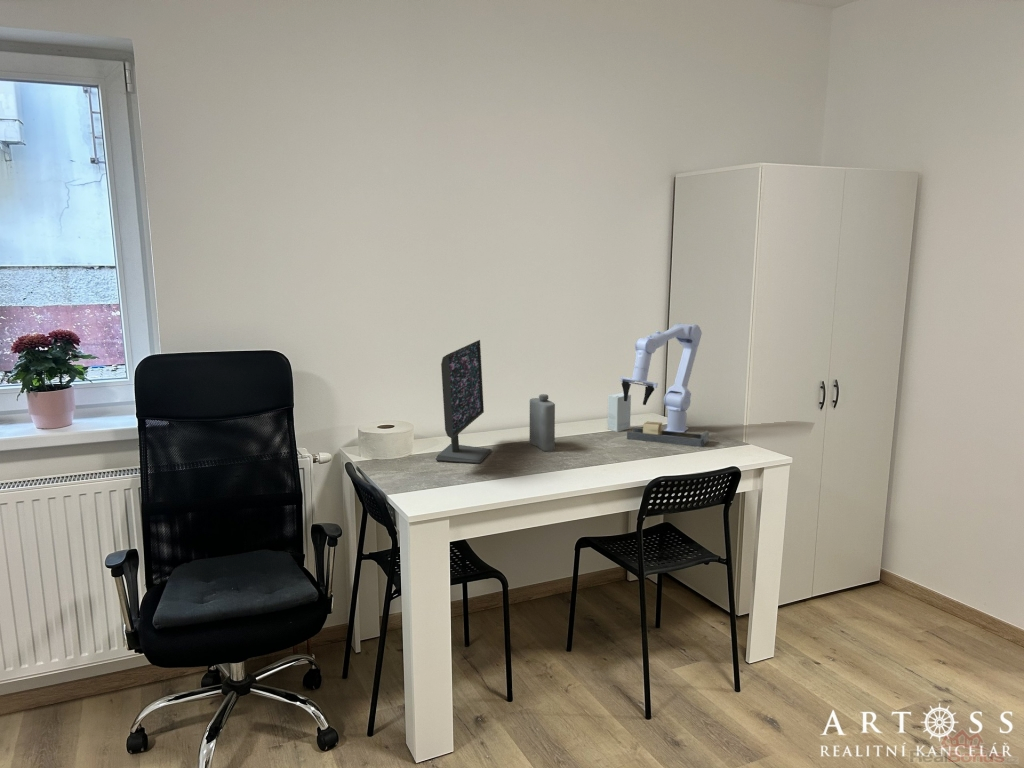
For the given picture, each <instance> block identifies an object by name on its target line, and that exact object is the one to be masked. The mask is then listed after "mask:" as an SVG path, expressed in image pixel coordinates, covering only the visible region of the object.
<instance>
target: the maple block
mask: <svg viewBox="0 0 1024 768" xmlns="http://www.w3.org/2000/svg"><path fill="white" fill-rule="evenodd" d="M642 428H643V433H648V434H658V435H662V430H663V422H661V421H660V422H659V421H645V422H644V423H642Z"/></svg>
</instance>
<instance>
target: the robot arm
mask: <svg viewBox="0 0 1024 768" xmlns="http://www.w3.org/2000/svg"><path fill="white" fill-rule="evenodd" d="M702 335H703V332H702V330H701V327H700V326H699V325H698V324H689V323H688V324H685V323H679V322H678V323H676V324H673V326H672V327H671V328H668V330H665V331H663V332H662V331H660V330H656V331H655V332H654V333H653V334H648V335H646V337H639V339H637V340H636V342H635V343H634V349H635V360H634V366H633V371H632V376H631V377H627V376H620V379H619V381H620V382H621V387H622V391H623V392H622V393H624V401H627V399H628V394H629V392H630V388H631V385H638V386H644V387H645V390H644V396H643V401H642V405H643V406H646V405H647V403H648V400H649V399H650V397H651V395H652V394H653V392H654V391H655V389H657V388H658V382H654V381H648V375H649V370H650V367H651V366H650V365H651V361H652V354H654V353H655V352H656V351H657V349H659V348H661V347H663V346H665V345H666V344H667V342H668V341H670V340H672V339H674V338H675V339H676V340H677V342H678V343H679V344H680V345H681V346H682V347H683V350H682V353H681V357H680V362H679V365H678V368H677V371H676V376H675V380H674V384H673V385H671V386H669V387H668V388H667V391H666V393H665V395H664V397H663V404H664V406H665V408H666V410H667V419H666V420H667V421H666V422H667V423H666V428H665V429H664V430H665V431H675V432H685V433H686V432H687V430H688V429H689V427H687V410H688V409H689V407H690V406H691V395H692V392H691V391H690V390H689V389H688V385H689V382H690V377H691V374H692V370H693V367H694V363H695V360H696V359H695V358H696V355H697V351H698V348H699V345H700V341H701V337H702Z"/></svg>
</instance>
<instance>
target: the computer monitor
mask: <svg viewBox="0 0 1024 768" xmlns="http://www.w3.org/2000/svg"><path fill="white" fill-rule="evenodd" d="M481 351H482V348H481V339H478V340H476V341H474V342H472V343H470V344H467V345H466V346H463V347H460V348H459V349H457V350H454V351H452V352H450V353H447V354H446V355H444V356H443V357H442V359H441V363H440V366H441V367H440V368H441V382H442V383H441V384H442V386H441V387H442V399H443V400H442V401H443V414H444V415H443V416H444V417H443V419H444V430H445V434H446V436H447V437H449V438H450V444H449V445H447V447H446V446H445V447H446V448H444V449H443V450H442V451H440V453H438V454H437V456H436V458H435V460H436V461H437V462H443V463H445V462H446V463H459V462H462V464H476V463H479V464H480V463H482V462H483V460H484V459H485V458H486V457H487V456H488V455H489V454H490V452H492V449H491V448H487V447H486V448H485V447H479V446H472V445H464V444H459V443H460V442H459V434H461V432H462V431H464V430H465V429H466V428H467V427H468V426H470V425H471V423H473V422H474V421H476V420H477V418H479V417H480V416H481V415H482V414H483V413H484V412H485V410H484V391H483V372H482V370H483V369H482V355H481V353H482V352H481Z"/></svg>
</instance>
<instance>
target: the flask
mask: <svg viewBox="0 0 1024 768" xmlns="http://www.w3.org/2000/svg"><path fill="white" fill-rule="evenodd" d="M555 419H556V403H554V402H552V401H551V400H549V395H548V394H545V393H542V394H539V395H538V397H531V398H529V444H530V445H531V446H534V447H536V446H537V448H539V449H540V450H541V451H542V452H553V451H555V447H556V446H555V443H556V442H555V439H556V438H555V434H556V431H555V430H556V429H555V428H556V425H555V424H556V423H555V422H556V421H555Z"/></svg>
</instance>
